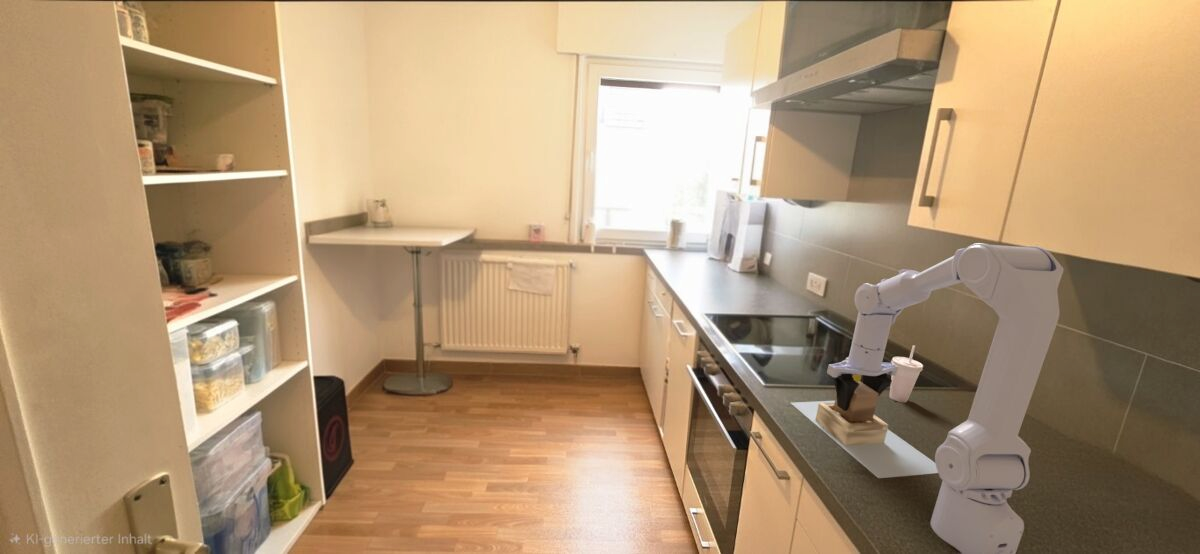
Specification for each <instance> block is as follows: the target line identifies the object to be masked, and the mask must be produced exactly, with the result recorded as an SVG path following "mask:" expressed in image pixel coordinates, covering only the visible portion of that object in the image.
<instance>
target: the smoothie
mask: <svg viewBox="0 0 1200 554" xmlns="http://www.w3.org/2000/svg"><path fill="white" fill-rule="evenodd" d="M915 348H916V345H912V348H911V351H910V354H909V357H905V356H894V357H892V359H891V361H890V363H892V364H894V365H896V366H897V367H898V370H897V374H896V376H892V375H890V376H891V377H890V379H891V380H892V382H891V385H890V386H889V398H890V399H891V400H893V401H896V402H899V403H907V402H908V400H909V398H910V396H911V394H912V391H913V390H914V387H915V384H916V382H917V379H918V378H919V376H920V372H922V371H923V370H924V369H923V368H924V364H923V363H921V362H919V361H917V360H914V359H913V356H914V353H915Z"/></svg>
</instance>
